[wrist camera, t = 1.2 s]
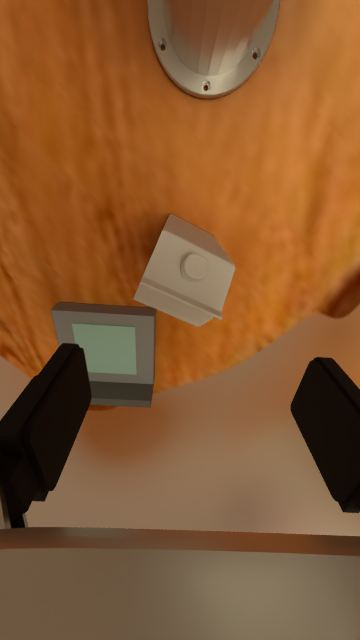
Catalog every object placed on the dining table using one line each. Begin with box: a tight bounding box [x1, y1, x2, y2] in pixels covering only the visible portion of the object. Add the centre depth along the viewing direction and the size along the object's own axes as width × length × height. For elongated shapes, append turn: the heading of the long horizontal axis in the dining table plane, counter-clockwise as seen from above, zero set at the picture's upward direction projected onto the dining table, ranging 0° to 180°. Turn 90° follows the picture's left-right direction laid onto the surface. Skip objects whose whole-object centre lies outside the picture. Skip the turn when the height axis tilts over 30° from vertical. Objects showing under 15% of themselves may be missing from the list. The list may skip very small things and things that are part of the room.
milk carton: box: [133, 214, 235, 327], centre depth 27 cm, size 7×7×19 cm
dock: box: [51, 302, 156, 407], centre depth 40 cm, size 16×16×7 cm
